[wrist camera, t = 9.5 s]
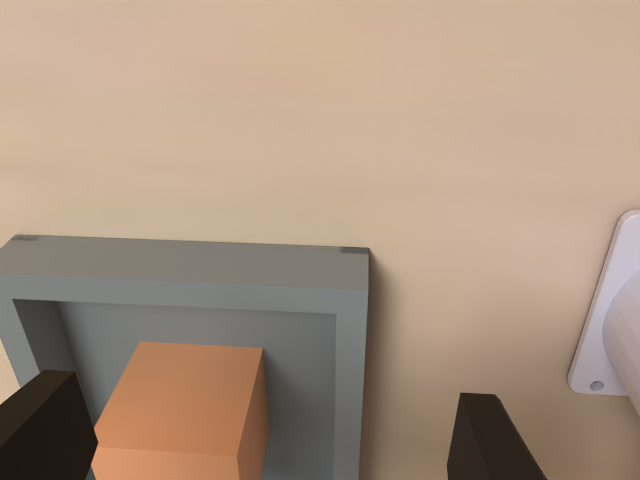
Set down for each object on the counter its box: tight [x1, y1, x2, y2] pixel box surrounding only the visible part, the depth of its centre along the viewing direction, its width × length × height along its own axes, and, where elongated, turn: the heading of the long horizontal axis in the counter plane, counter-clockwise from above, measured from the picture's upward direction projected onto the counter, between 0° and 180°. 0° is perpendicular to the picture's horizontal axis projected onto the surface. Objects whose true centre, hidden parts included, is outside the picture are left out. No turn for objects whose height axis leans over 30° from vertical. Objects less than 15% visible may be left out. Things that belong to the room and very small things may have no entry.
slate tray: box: [0, 235, 369, 480], centre depth 23 cm, size 13×15×2 cm
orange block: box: [91, 342, 269, 480], centre depth 21 cm, size 5×5×5 cm
